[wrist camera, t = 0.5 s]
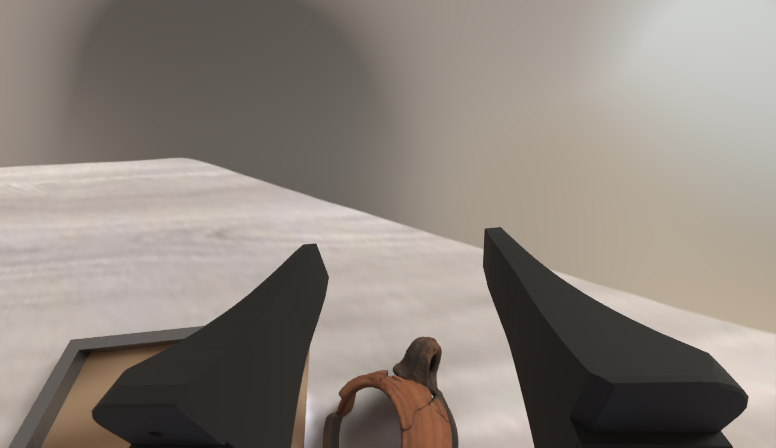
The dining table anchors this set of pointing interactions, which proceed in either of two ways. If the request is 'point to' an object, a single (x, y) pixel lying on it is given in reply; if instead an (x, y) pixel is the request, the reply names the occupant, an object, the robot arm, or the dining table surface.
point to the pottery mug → (406, 399)
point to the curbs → (67, 371)
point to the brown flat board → (100, 371)
